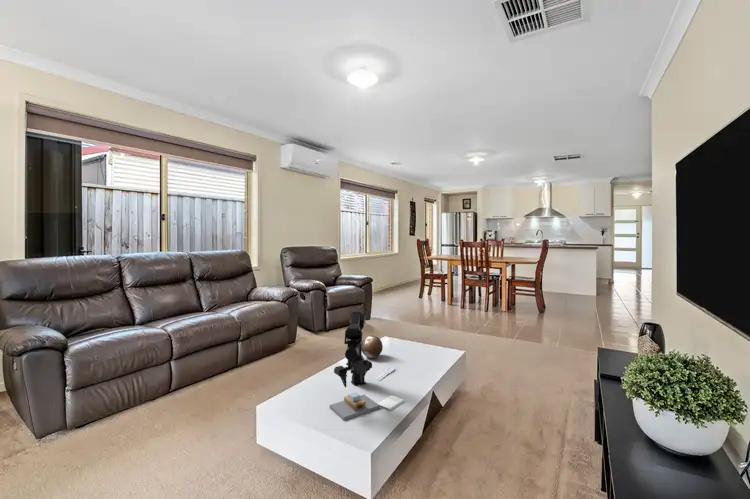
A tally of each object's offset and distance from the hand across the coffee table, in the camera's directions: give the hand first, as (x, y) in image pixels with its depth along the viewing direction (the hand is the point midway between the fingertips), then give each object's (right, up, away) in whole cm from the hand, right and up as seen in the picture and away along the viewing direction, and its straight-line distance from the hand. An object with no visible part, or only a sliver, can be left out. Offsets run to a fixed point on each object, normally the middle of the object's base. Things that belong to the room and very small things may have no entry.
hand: (353, 384), depth 168 cm
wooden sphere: (+8, -9, +71) cm, 72 cm away
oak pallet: (+1, -9, -1) cm, 9 cm away
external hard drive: (+18, -11, +3) cm, 22 cm away
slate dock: (+1, -11, -1) cm, 11 cm away
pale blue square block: (0, -6, -1) cm, 6 cm away
